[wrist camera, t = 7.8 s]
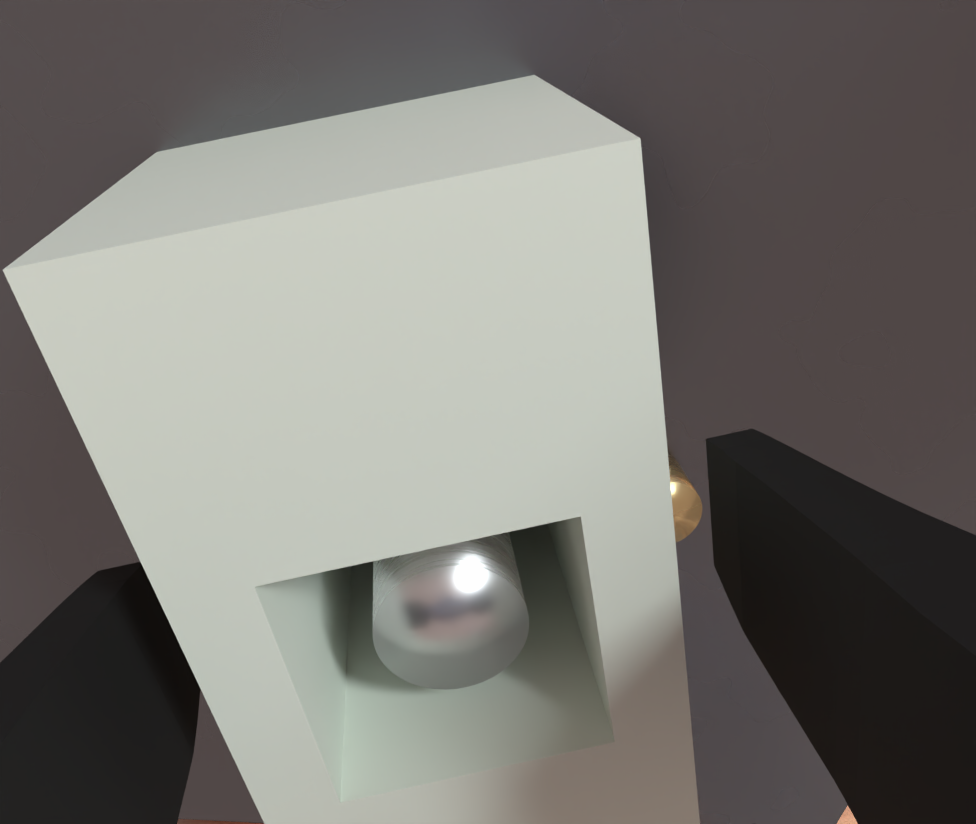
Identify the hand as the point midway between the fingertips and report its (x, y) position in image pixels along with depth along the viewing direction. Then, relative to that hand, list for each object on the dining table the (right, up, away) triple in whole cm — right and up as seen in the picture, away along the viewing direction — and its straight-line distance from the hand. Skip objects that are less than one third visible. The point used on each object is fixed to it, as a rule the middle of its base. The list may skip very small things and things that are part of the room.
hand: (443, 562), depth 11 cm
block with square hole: (0, +1, +2) cm, 3 cm away
